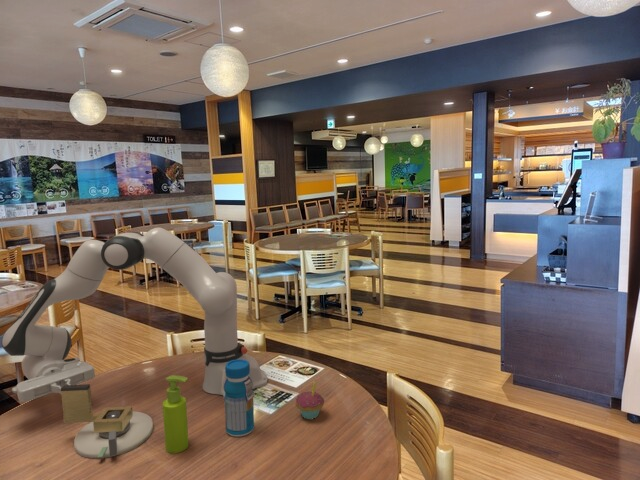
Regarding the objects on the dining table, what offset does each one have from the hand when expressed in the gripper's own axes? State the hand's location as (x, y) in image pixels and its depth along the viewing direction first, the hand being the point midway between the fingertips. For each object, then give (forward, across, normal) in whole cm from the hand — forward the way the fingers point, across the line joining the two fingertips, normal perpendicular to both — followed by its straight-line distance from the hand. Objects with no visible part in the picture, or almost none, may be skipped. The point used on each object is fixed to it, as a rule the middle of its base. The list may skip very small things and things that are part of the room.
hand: (66, 389), depth 124 cm
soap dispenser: (+34, +16, +12) cm, 39 cm away
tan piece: (+12, +3, +8) cm, 15 cm away
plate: (+16, +6, +11) cm, 20 cm away
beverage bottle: (+40, +32, +12) cm, 52 cm away
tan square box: (+15, +7, +10) cm, 19 cm away
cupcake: (+50, +50, +12) cm, 72 cm away
